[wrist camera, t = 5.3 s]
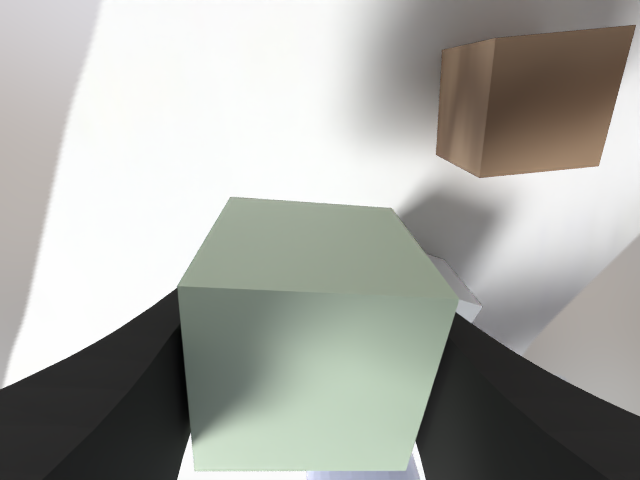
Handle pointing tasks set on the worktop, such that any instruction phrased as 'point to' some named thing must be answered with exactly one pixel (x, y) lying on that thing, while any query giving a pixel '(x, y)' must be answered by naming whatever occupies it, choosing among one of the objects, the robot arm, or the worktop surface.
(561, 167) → the walnut cube
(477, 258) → the worktop surface
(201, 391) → the sage cube
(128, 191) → the worktop surface
